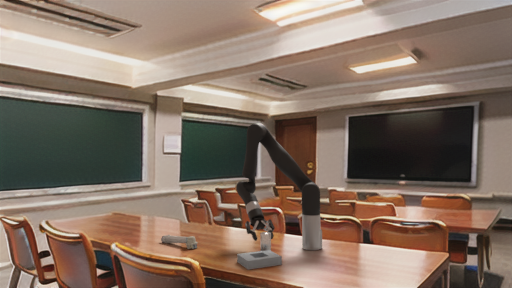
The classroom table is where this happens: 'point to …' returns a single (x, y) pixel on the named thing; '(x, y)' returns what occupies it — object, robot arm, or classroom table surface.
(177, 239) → the grey elongated piece
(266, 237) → the steel bushing
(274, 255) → the jig plate
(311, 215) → the robot arm
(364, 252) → the classroom table surface
